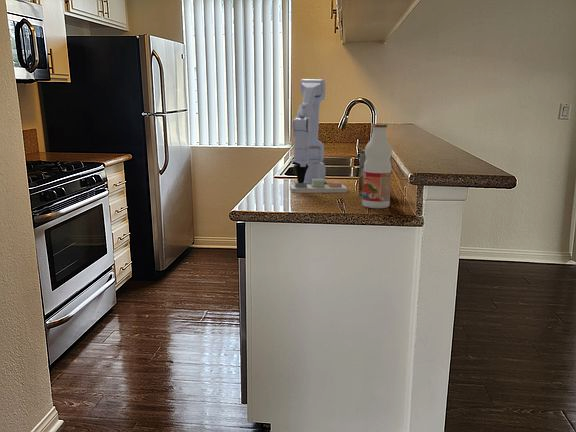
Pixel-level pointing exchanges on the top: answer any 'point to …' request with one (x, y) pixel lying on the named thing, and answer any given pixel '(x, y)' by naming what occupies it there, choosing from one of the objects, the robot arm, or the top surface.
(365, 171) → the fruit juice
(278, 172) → the top surface
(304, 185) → the key slate
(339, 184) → the key terracotta
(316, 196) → the top surface
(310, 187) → the keypad
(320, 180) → the key sage
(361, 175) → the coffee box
